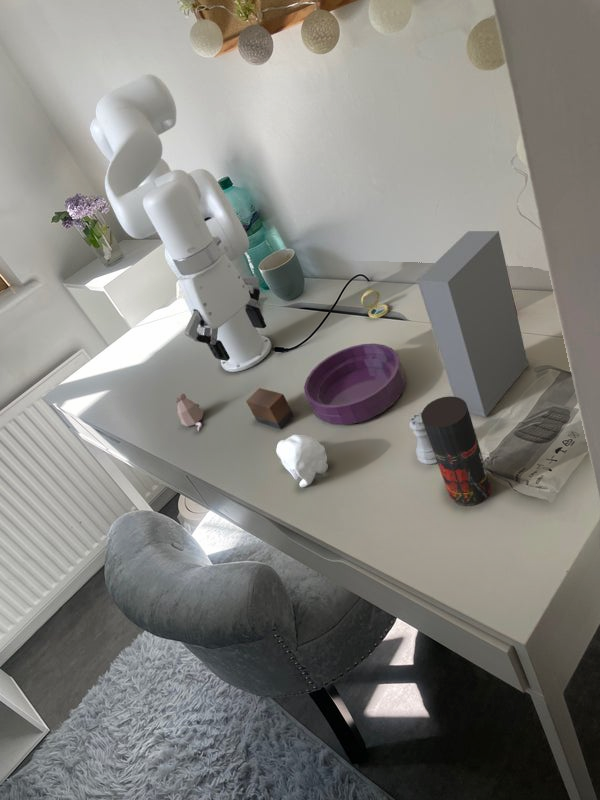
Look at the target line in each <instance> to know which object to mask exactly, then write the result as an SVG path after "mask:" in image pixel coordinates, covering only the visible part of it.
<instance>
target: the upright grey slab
mask: <svg viewBox="0 0 600 800" xmlns="http://www.w3.org/2000/svg"><path fill="white" fill-rule="evenodd" d="M416 281H417V284H418V287H419V290H420V294H421V296H422V300H423V302H424V303H423V304H424V307H425V310H426V313H427V316H428V320H429V323H430V325H431V329H432V332H433V335H434V338H435V341H436V345H437V348H438V351H439V354H440V357H441V360H442V364H443V367H444V371H445V373H446V376H447V379H448V383H449V386H450V389H451V392H452V397H458V398H461V399H462V400H464V401H465V402H466V404H467V407H468V410H469V414H470V415H476V416H479V417H483V418H486V417H488V415H489V414H490V413H491V411H492V410H493V409H494V407H495V406H496V405H498V403H499V401H500V400H501V399H502V398H503V397H504V395H505V394H506V393H507V392H508V390H509V389H511V387H512V385H514V383H515V382H516V381H517V379H518V378H519V377H520V376H521V375H522V374H523V372H524V371H525V370H526V369H527V368H528V366H529V364H530V362H529V358H528V357H527V354H526V349H525V345H524V339H523V336H522V331H521V327H520V322H519V318H518V313H517V308H516V303H515V299H514V294H513V291H512V286H511V280H510V276H509V271H508V268H507V263H506V258H505V253H504V249H503V244H502V240H501V234H500V231H499V230H468V231H467V232H466V233H464V235H462V237H461V238H459V240H457V241H456V242H455V243H454V244H453V245H452V246H450V248H449V249H448V250H447V251H446V252H445V253H443V255H442V256H440V257H439V258H438V260H436V261H435V263H433V264H432V265H431V266H430V267H429V268H428V269H427V270H426V271H424V273H423V274H422V275H421V276H420V277H419V278H418V279H416Z"/></svg>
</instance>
